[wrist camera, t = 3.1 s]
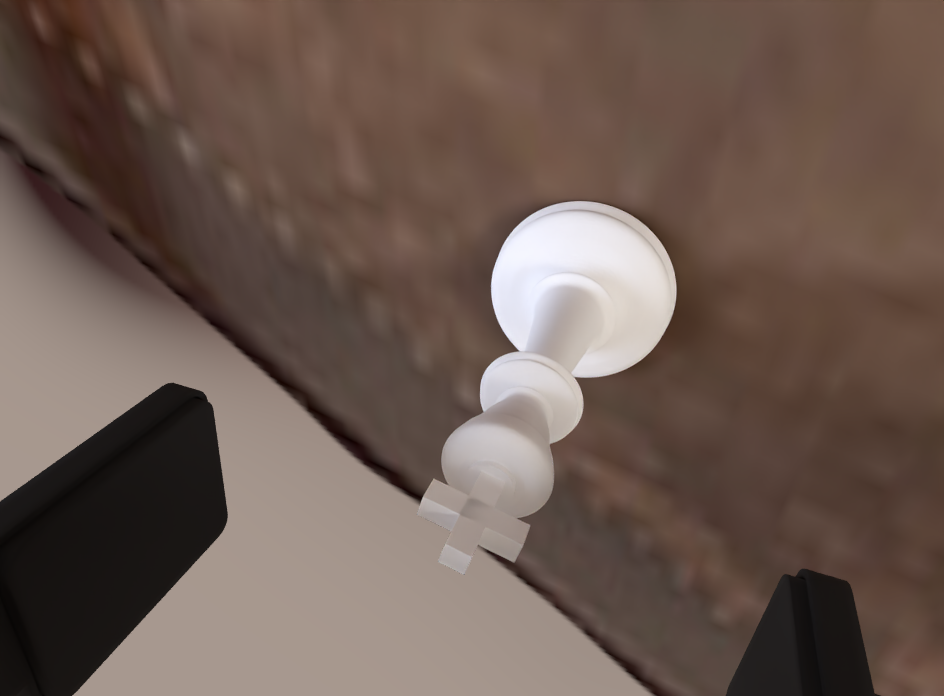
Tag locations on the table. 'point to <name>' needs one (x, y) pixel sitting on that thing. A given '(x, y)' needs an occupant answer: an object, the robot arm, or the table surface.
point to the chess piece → (547, 364)
